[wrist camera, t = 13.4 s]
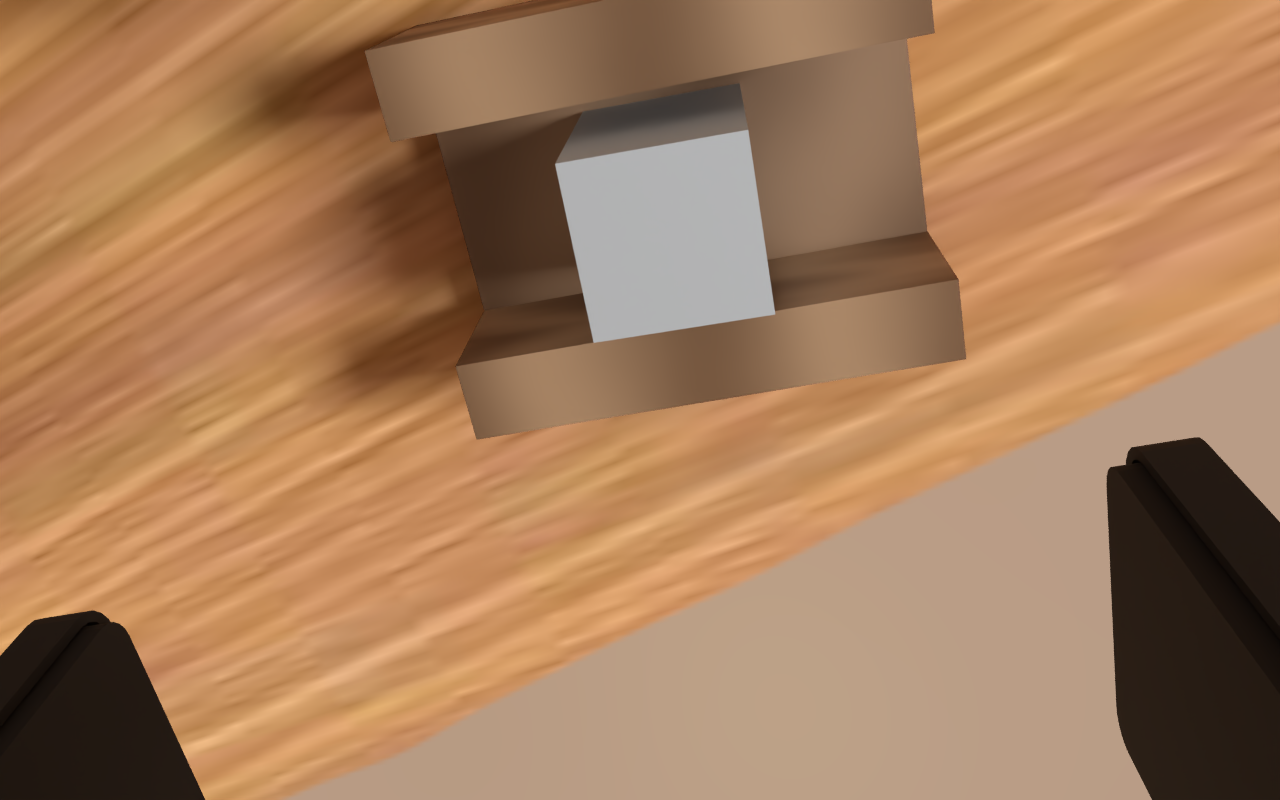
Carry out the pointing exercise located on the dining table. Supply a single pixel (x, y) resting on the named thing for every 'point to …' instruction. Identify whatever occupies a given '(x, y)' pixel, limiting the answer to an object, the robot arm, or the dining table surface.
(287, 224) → the dining table surface
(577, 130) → the block
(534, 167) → the notched board
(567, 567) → the dining table surface
